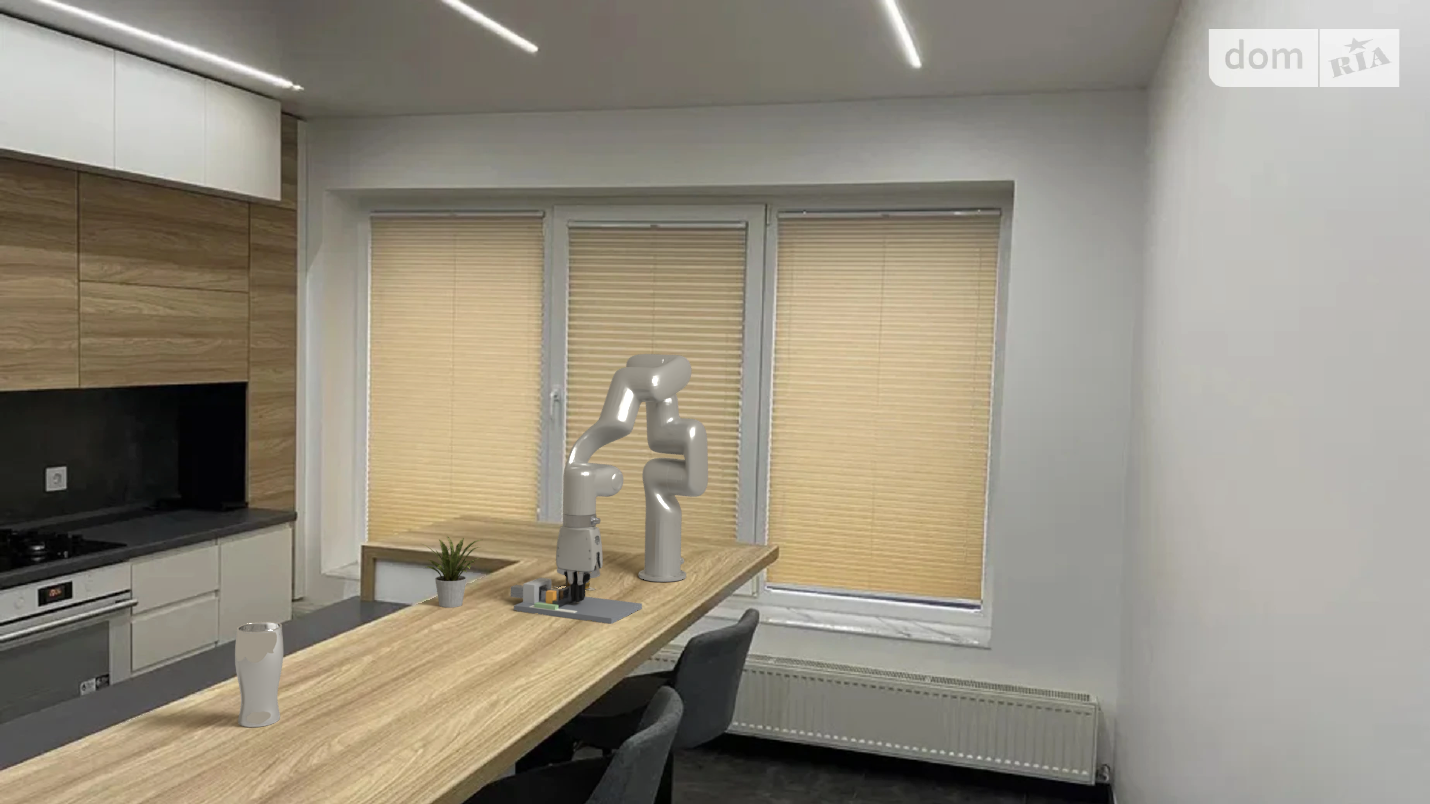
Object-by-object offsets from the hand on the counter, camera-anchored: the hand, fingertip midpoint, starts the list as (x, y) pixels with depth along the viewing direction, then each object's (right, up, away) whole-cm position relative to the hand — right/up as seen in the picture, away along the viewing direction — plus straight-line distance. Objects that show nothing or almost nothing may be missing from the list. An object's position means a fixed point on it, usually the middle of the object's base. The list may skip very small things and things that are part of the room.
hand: (577, 600), depth 237 cm
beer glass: (-40, -5, -74) cm, 85 cm away
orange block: (-6, -1, -3) cm, 6 cm away
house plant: (-28, -2, +2) cm, 28 cm away
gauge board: (0, -2, 0) cm, 2 cm away
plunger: (-10, 0, +2) cm, 10 cm away
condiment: (-4, -1, +21) cm, 21 cm away
